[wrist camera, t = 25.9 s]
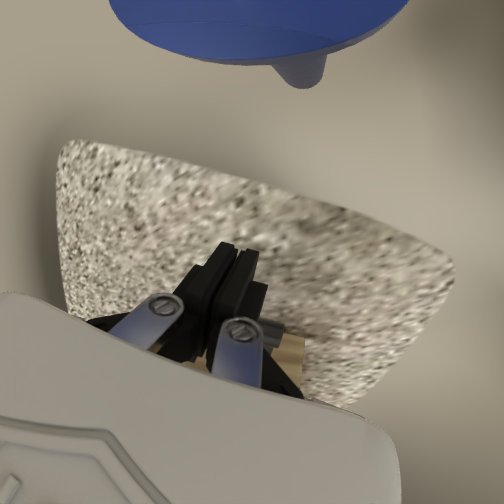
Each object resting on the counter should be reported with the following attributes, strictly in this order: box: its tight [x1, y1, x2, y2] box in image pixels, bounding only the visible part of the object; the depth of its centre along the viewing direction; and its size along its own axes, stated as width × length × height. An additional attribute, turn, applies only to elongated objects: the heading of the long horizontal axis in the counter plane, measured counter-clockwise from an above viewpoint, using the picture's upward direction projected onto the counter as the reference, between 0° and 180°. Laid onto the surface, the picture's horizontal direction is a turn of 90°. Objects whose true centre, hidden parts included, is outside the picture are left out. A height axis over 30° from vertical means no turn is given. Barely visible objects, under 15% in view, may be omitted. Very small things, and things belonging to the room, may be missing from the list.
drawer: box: [182, 317, 305, 389], centre depth 19 cm, size 16×10×7 cm, turn 169°
